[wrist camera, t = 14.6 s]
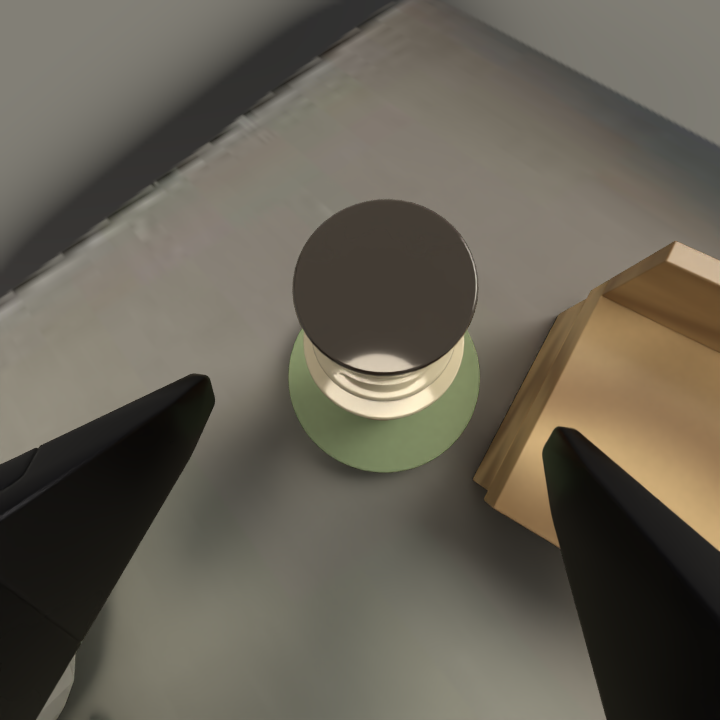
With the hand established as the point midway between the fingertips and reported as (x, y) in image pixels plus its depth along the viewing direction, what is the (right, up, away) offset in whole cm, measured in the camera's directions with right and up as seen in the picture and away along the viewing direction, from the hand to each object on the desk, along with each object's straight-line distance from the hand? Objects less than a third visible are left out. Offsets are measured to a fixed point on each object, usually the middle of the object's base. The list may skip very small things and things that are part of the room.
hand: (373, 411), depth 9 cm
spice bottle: (+1, +1, +7) cm, 7 cm away
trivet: (+1, +1, +8) cm, 8 cm away
